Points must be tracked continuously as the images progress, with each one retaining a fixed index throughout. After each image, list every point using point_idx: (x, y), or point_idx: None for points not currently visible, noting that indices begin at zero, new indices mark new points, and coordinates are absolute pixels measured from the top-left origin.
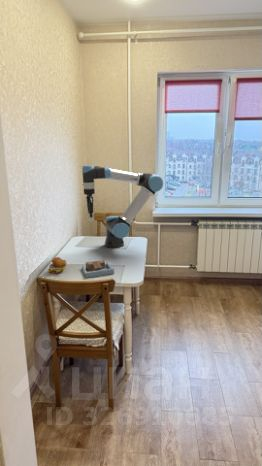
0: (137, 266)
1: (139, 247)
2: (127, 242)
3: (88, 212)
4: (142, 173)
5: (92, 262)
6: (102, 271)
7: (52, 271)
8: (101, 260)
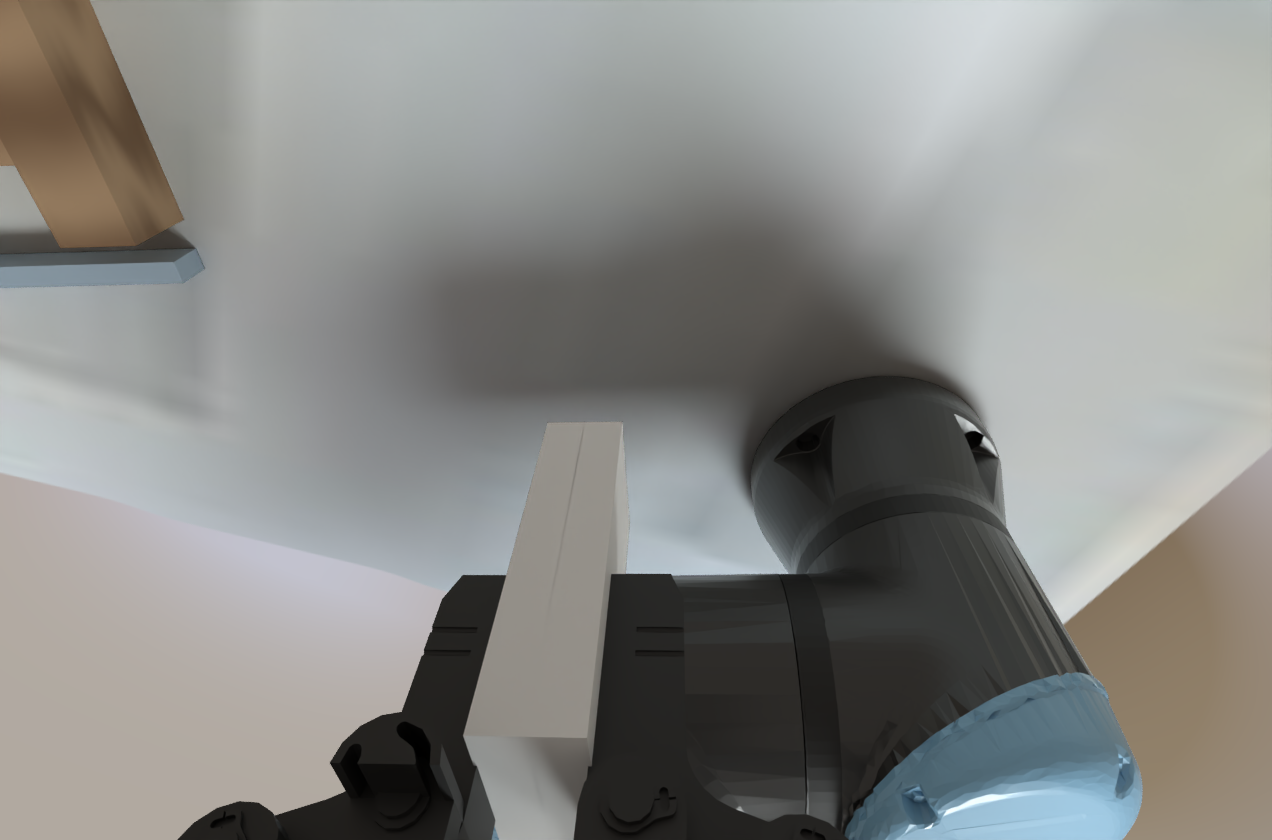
0: (172, 498)
1: None
2: None
3: (338, 764)
4: None
5: (14, 73)
6: None
7: None
8: (112, 216)
